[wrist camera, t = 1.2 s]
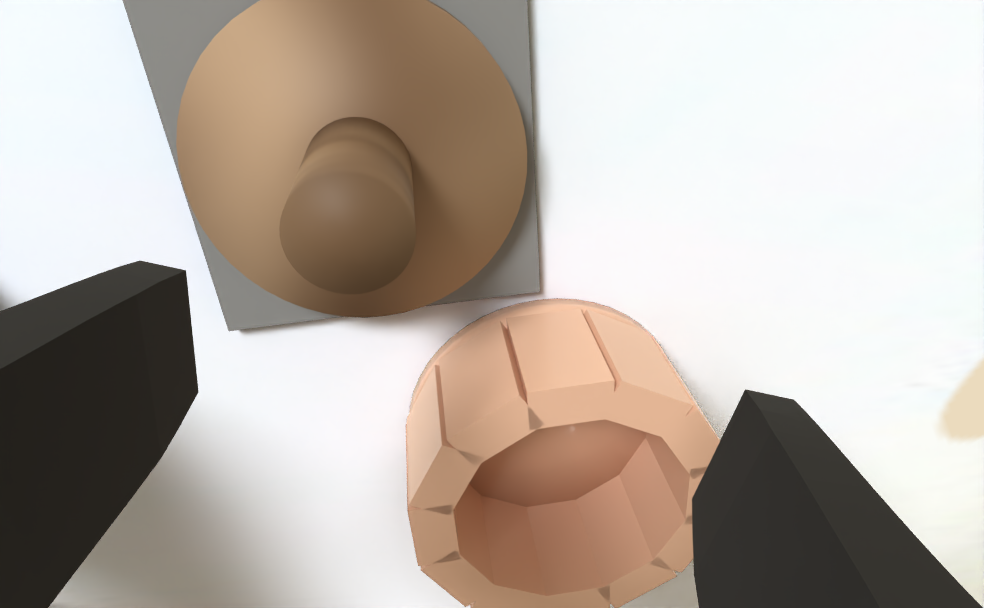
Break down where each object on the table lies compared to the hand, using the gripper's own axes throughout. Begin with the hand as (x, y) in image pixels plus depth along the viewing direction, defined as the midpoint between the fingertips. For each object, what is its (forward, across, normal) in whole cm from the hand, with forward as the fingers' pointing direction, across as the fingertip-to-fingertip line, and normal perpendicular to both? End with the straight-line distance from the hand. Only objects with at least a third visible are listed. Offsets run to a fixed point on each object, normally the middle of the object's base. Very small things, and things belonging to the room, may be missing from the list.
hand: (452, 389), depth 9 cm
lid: (+9, +4, +1) cm, 10 cm away
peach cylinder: (+10, -2, +9) cm, 14 cm away
